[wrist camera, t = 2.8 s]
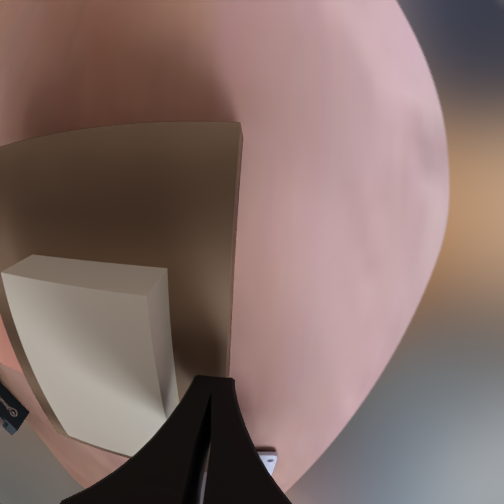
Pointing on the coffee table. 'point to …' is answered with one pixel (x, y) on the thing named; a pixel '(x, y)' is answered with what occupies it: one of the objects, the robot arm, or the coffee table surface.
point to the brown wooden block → (133, 223)
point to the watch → (10, 411)
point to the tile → (97, 345)
